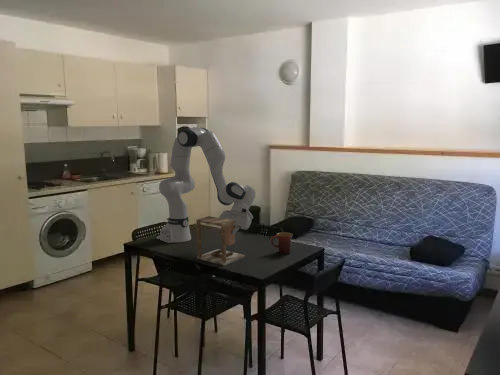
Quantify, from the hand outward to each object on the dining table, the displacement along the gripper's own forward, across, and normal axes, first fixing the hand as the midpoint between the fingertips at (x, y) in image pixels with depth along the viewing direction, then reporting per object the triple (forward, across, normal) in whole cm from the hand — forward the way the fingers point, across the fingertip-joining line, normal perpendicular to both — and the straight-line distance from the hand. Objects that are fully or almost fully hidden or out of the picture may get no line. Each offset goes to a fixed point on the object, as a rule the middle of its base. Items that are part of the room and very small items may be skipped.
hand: (227, 233), depth 229 cm
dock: (+13, 0, +5) cm, 14 cm away
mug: (-6, +21, +23) cm, 32 cm away
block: (+4, 0, +5) cm, 6 cm away
